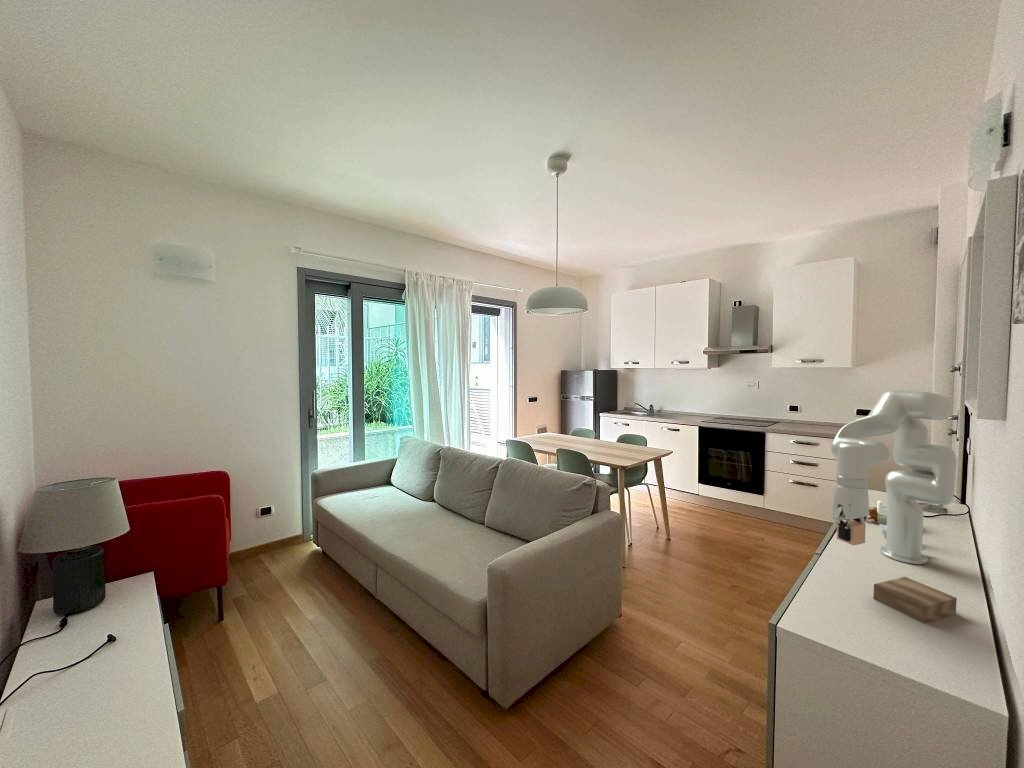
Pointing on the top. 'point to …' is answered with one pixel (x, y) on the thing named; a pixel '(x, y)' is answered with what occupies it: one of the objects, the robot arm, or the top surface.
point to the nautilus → (877, 516)
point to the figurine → (883, 512)
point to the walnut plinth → (915, 599)
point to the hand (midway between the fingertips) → (850, 537)
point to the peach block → (855, 533)
